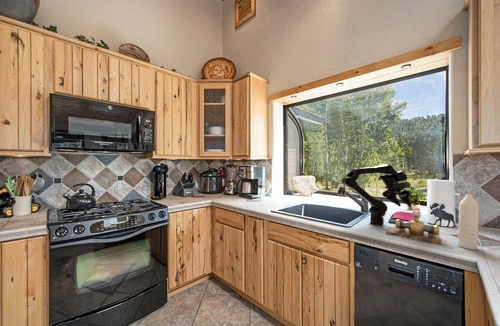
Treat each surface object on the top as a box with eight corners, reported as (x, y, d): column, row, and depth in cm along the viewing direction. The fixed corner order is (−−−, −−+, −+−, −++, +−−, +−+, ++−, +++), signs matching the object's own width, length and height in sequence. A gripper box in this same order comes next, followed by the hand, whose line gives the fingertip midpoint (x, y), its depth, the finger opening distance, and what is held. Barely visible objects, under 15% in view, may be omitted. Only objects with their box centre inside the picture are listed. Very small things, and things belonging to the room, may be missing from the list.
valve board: (385, 233, 117) (386, 231, 117) (388, 228, 126) (388, 226, 125) (440, 244, 103) (440, 241, 103) (439, 238, 111) (439, 235, 111)
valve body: (395, 231, 116) (395, 215, 116) (396, 228, 121) (396, 213, 121) (439, 239, 105) (439, 221, 105) (438, 236, 110) (438, 218, 110)
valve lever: (420, 218, 110) (420, 212, 110) (412, 217, 113) (412, 211, 112) (420, 213, 120) (420, 208, 120) (413, 212, 122) (413, 207, 122)
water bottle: (475, 246, 101) (477, 194, 100) (479, 251, 96) (481, 196, 95) (450, 241, 106) (452, 192, 105) (452, 246, 101) (454, 194, 100)
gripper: (390, 174, 123) (406, 198, 113) (411, 177, 129) (428, 200, 120) (376, 185, 131) (390, 208, 121) (396, 187, 137) (411, 209, 128)
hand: (405, 206), depth 122 cm, fingers open, 9 cm apart
